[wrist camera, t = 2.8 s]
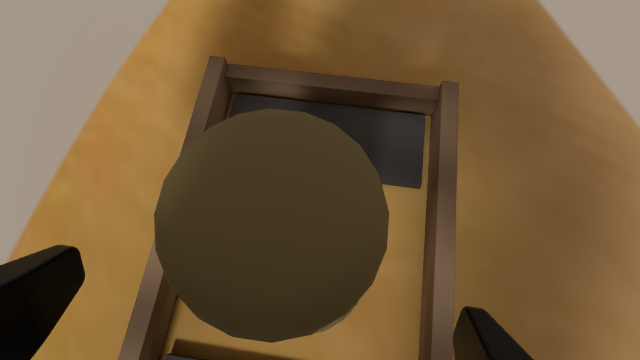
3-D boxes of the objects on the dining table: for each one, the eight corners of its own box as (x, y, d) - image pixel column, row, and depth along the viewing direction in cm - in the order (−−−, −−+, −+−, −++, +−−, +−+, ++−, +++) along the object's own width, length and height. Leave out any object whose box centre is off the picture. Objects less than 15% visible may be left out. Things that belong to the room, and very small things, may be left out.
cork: (319, 364, 16) (299, 469, 5) (213, 283, 17) (31, 240, 7) (391, 248, 17) (482, 156, 7) (289, 182, 19) (237, 20, 8)
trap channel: (420, 851, 11) (438, 962, 9) (30, 748, 12) (-25, 829, 10) (446, 104, 20) (458, 82, 18) (220, 78, 21) (210, 56, 19)
